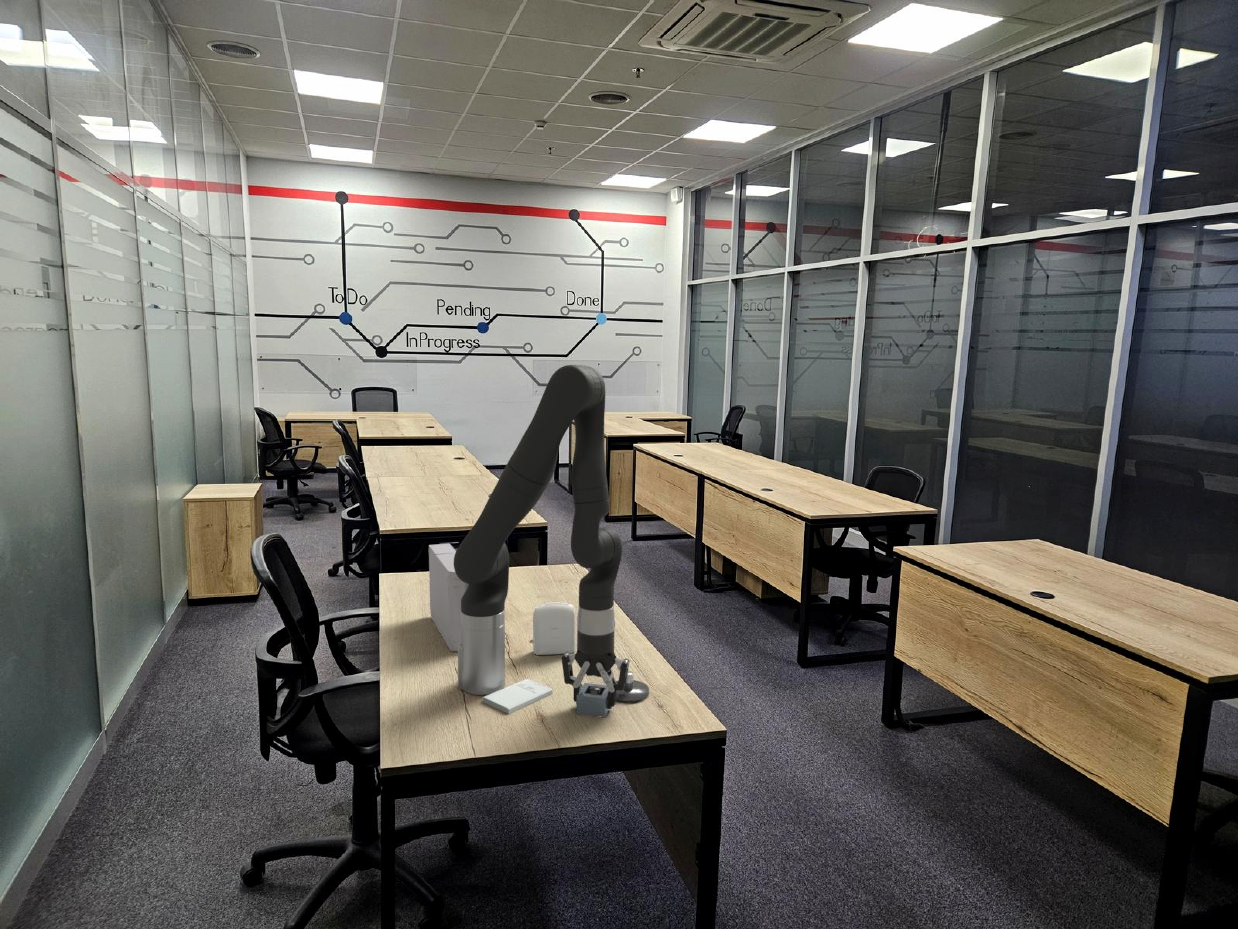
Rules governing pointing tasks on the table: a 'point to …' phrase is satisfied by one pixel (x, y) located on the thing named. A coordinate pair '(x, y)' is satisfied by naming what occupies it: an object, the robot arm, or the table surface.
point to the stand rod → (594, 690)
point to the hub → (632, 690)
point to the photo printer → (554, 629)
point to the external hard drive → (517, 696)
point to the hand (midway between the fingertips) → (594, 705)
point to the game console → (445, 594)
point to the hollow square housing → (592, 701)
